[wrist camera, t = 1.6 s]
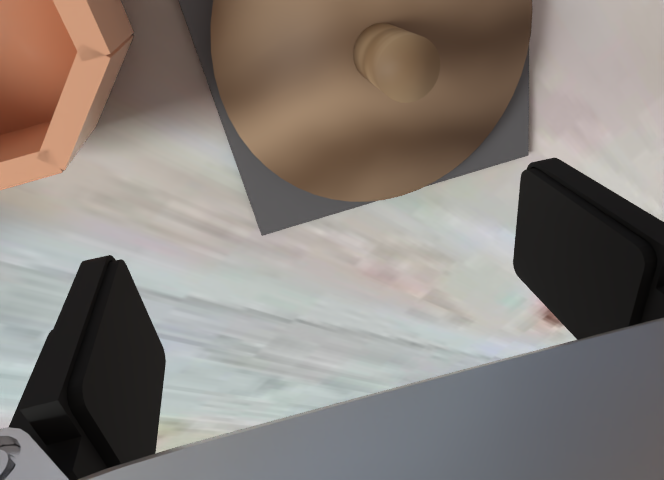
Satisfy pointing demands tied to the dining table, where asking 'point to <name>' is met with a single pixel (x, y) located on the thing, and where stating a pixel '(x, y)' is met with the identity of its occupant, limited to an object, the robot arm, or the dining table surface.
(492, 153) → the mat
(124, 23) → the bowl
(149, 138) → the dining table surface
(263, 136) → the lid
